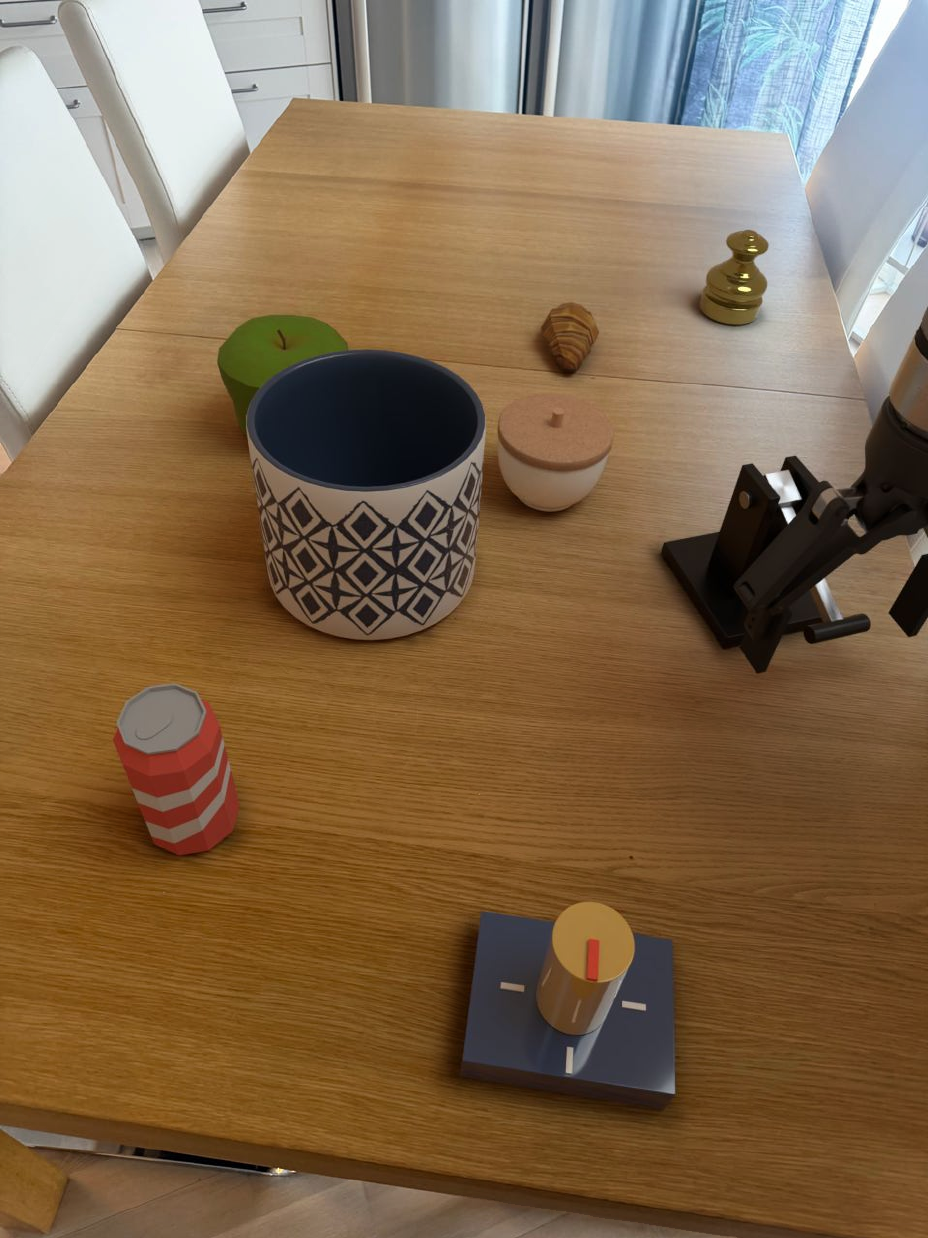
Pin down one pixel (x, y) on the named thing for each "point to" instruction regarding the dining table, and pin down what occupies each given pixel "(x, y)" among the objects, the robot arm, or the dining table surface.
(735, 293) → the gold metal turned piece
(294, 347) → the apple
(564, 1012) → the valve knob
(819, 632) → the faucet lever
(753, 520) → the black angular piece
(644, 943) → the valve plate
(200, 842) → the beverage can
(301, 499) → the planter
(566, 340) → the croissant
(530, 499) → the trinket box
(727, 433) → the dining table surface
